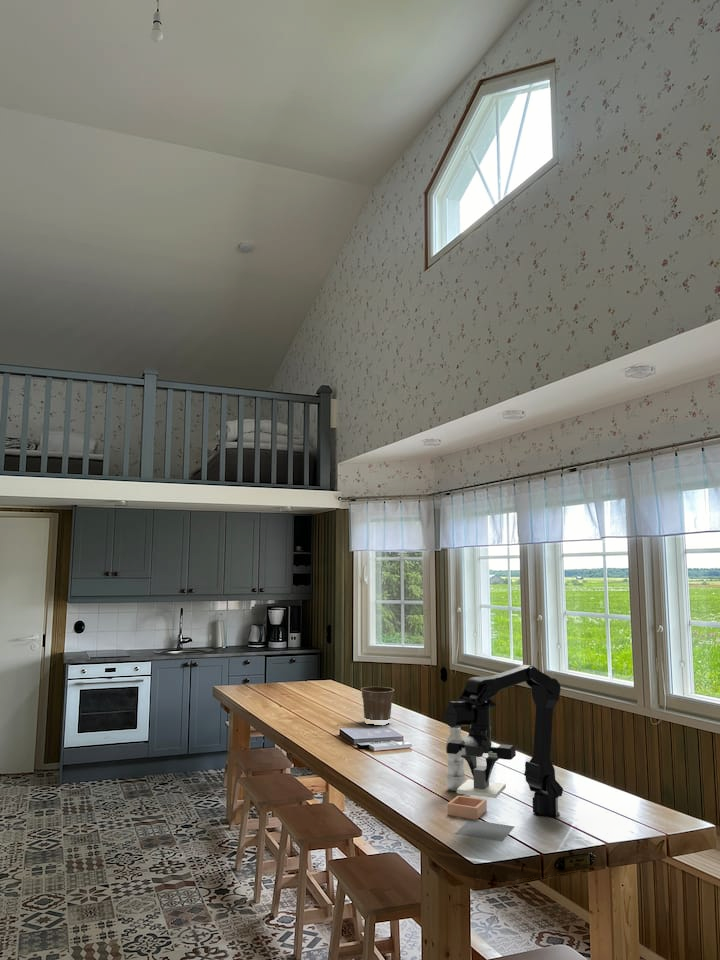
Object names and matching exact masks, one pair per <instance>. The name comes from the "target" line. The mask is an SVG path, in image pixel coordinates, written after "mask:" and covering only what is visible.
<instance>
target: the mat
mask: <svg viewBox="0 0 720 960" xmlns="http://www.w3.org/2000/svg"><path fill="white" fill-rule="evenodd" d="M513 829H515V826H514V825H513V826H512V825H510V824H509V825H508V824H507V825H506V824H503V823H494V822H488V821H483V820H478V819H470V818H469V819H468V820H467V821H466V822H465V823H464V824H463V825H462V826H461V827H460V828H459V829H458V830H457V831H456V832H455V834H456V835H461V836H467V837H473V838H474V837H475V838H479V839H485V840H490V841H496V842H503V841H504V840H505V839H506V838H507V837H508V836H509V834H510V833H511V832H512V831H513ZM455 834H454V835H455Z"/></svg>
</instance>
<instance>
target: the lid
mask: <svg viewBox="0 0 720 960" xmlns="http://www.w3.org/2000/svg"><path fill="white" fill-rule="evenodd" d="M473 774H474V778H473V779H466V780H465V781H466V782H465V783H463V784H462V785H461V786H460V787H459V788H458V789H457V791H456V794H460V795H466V796H467V795H469V796H475V797H485V798H492V799H497V798H498V796H499V795H500V794H501V793H502V792H503V791H504V790H505V789H506V788H507V787H506V786H507V785H506V783H501V782H494V781H490V780H489V781H488V782H486V765H477V767H476V768H475V769H473Z"/></svg>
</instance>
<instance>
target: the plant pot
mask: <svg viewBox="0 0 720 960" xmlns="http://www.w3.org/2000/svg"><path fill="white" fill-rule="evenodd" d="M360 691H361V698H362V702H363V716H364V717H363V718H366V719H370V720H388V719H390V720H391V713H392V704H393V699H394V692H395V689H394V688H392V687H388V686H387V687H385V686H366V687H361V688H360Z"/></svg>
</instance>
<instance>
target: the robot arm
mask: <svg viewBox="0 0 720 960" xmlns="http://www.w3.org/2000/svg"><path fill="white" fill-rule="evenodd" d="M521 683H525V684H526V685H527V686H528V687H530V689H531V697H532V699H533V702H534V704H535V717H534V718H535V719H534V720H535V721H534V736H533V738H534V739H533V751H532V752H533V754H532V757H531V759H530V760H529V761H527V760H526V761H525V763H524V766H525V768H524V773H523V776H525V782H526V783H527V784H528V787H529V790H530V792H533V793H534V796H533V797H532V815H533V816H536V817H543V818H549V819H550V818H551V819H556V818H558V817H559V815H560V814H561V813H560V811H559V799H558V798H560V797H562V796H563V792H564V788H563V786H562V785H561V784H560V783H559V782H558V781H557V780H556V770H555V767H554V764H553V763H552V760H551V749H552V735H553V717H554V715H553V713H554V708H555V707H556V705H557V704H558V702H559V701H560V700H559V699H560V696H561V684H560V682H559V681H558V679H556V678H553V677H551V676H550V675H547V674H545V673H543V672H542V671H540V670H539V669H538V668H537V667H536V666H534V665H529V664H521V665H519V666H518V667H515V668H511V669H508V670H506V671H501V672H499V673H496V674H493V675H489V676H486V675H485V676H472V677H470V678H468V679H467V681H466V684H465V687H464V689H463V690H462V693H461V695H460V696H459V698H458V700H457V701H454V700H453V701H449V703H448V706H447V707H446V709H445V712H444V720H445V722H446V724H447V726H448V727H449V728H450V727H466V726H469V729H468V736H467V737H466V739H465V740H464V739H463V740H464V741H463V740H452V741H450V742H449V743H448V744H447V746H446V745H445V748H446V749H445V751H446V754H447V753H450V754H457V753H458V752H459V751H462V755H461V757H462V758H464V760H465V761H466V762H467V764H468V767H469V769H470V771H471V775H472V778H473V779H474V774H473V769H475V768H476V767H477V766H478V765H477V762H478V761H477V758H481V757H482V756H483V755H484V754H487V757H486V758H485V762H486V765H485V766H486V782H488V781H489V782H490V777H491V775H492V772H493V769H494V766H495V763H496V762H497V761H498V760H508V761H510V760H513V759H514V758H515V757H516V755H517V753H516V751H517V750H516V746H514V745H512V744H503V743H502V744H500V745H498V746H492V740H491V739H492V738H491V731H492V726H491V708H494V707H496V706H497V704H496V703H495V701H493V700H492V698H494V697H495V696H497V694H498V693H499V692H500V691H502V690H504V689H507V688H510V687H513V686H516V685H519V684H521Z"/></svg>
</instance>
